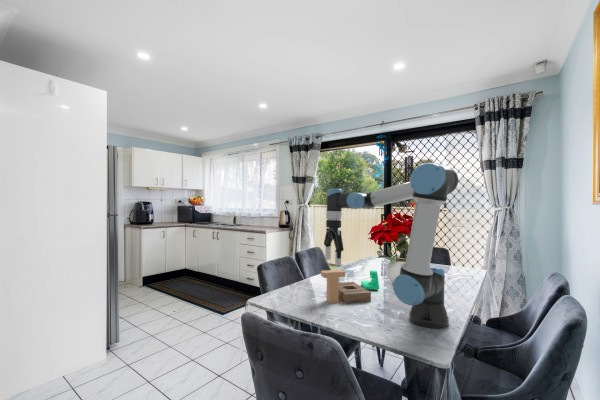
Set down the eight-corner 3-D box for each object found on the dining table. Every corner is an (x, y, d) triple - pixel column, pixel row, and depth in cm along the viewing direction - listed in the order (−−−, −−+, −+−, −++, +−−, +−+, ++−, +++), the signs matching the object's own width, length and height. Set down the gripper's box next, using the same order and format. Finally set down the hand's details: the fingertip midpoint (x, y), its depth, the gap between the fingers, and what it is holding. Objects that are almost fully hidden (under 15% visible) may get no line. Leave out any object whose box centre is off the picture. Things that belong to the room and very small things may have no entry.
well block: (370, 301, 143) (370, 292, 143) (345, 303, 139) (345, 294, 139) (353, 289, 162) (353, 281, 162) (330, 291, 159) (330, 283, 159)
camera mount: (360, 285, 173) (361, 268, 173) (373, 285, 173) (373, 268, 173) (365, 291, 161) (365, 272, 161) (379, 291, 161) (379, 273, 161)
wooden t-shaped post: (344, 302, 141) (344, 271, 141) (323, 303, 138) (324, 272, 139) (340, 299, 146) (341, 269, 146) (320, 300, 143) (321, 270, 143)
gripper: (351, 221, 132) (350, 267, 131) (331, 218, 156) (330, 257, 155) (336, 221, 130) (335, 268, 129) (318, 218, 154) (317, 257, 154)
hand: (332, 262), depth 142 cm, fingers open, 13 cm apart
